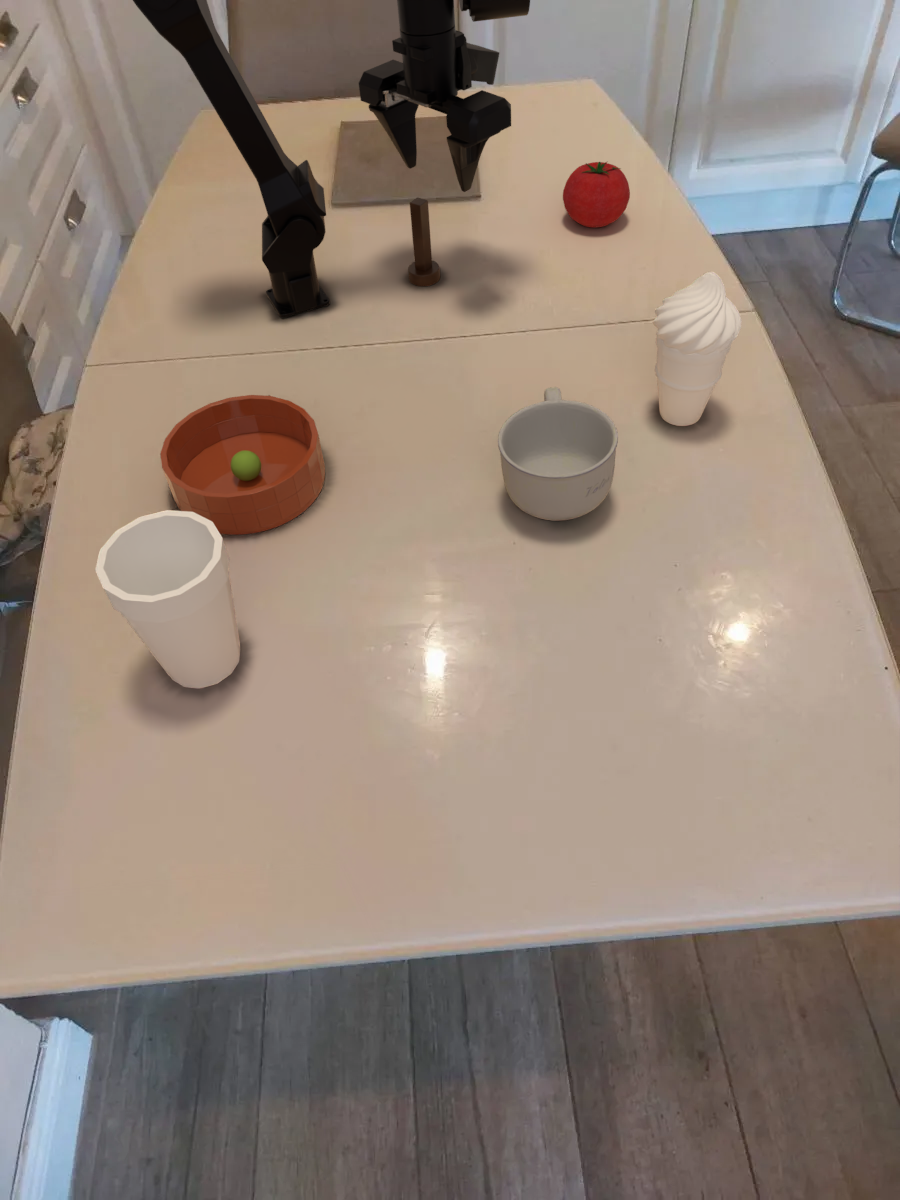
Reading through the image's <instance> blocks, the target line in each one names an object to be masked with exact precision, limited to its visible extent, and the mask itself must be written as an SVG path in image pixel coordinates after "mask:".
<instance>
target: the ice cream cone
mask: <svg viewBox="0 0 900 1200" xmlns="http://www.w3.org/2000/svg"><path fill="white" fill-rule="evenodd" d="M726 291H727V290H726V286H725V284H724V282H723V279H722V278H721V277H720V275H719V274H717V272H715V271H707V272H704V273H703V274H702V275H700V276H698V277H696V278H695V279H694V281H693V282H692V283H690V284H689V285H687V286H686V287H684V288H681V289H678V290H676V291H674V292H673V294H672V295H671V296H666V297H664V298H663V299H662V305H660V306H658V307H656V308H655V309H654V313H655V316H656V317H655V318H654V319H653V320H652V324H653V326H654V327H655V328H656V329H657V331H656V334H655V335H656V337H655V346H656V358H655V359H656V360H655V361H656V362H655V365H654V374H655V376H656V386H657V396H658V409H659V415H660V417H661V418H662V420H664V422H666V423H667V424H670V425H673V426H677V427H688V426H692V425H695V424H696V423H697V422H698V421H700V419H701V418H702V415H703V413H704V411H705V409H706V407H707V404H708V402H709V400H710V398H711V396H712V394H713V391H714V389H715V387H716V385H717V384H718V383H719V382H720V380H721V378H722V374H723V373H722V371H723V367H724V364H725V362H726V358H727V355H728V354H729V353H730V350H731V349H732V348H731V347H732V344H733V343H734V342H735V340H736V339H737V338H738V335H739V333H740V331H741V329H742V317H741V313H740V311H739V310H738V308H737V306H736V305H735V303H734V302H733V301H732V300H731V299H730V298H729V297H727V292H726Z"/></svg>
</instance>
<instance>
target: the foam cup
mask: <svg viewBox="0 0 900 1200" xmlns="http://www.w3.org/2000/svg"><path fill="white" fill-rule="evenodd" d="M230 560H231V559H230V556H229V553H228V550H227V547H226V545H225V541H224V538H223V536H222V534H221V533H219V531H218V530H217V528H216V527H215V525H214V523H213V522H212V521H210V520H208V519H206V518H204V517H202V516H200V515H198V514H196V513H194V512H188V511H180V510H170V509H166V510H162V511H158V512H154V513H149V514H145V515H141V516H138V517H136V518H135V519H133V520H132V521H130V522H128V523H127V524H124V525H123V526H122V527H120V528H118V529H116V530H115V531H114V532H113V533H112V535H111V536H110V537H109V538H108V539H107V541H106V542H105V543H104V544H103V545H102V547H101V548H100V549H99V552H98V557H97V560H96V564H95V569H94V571H95V574H96V575H97V578H98V580H99V582H100V585H101V587H102V588H103V591H104V592H105V595H106V596H107V599H108V600H109V602H110V604H111V606H112V608H113V610H115V611H117V612H118V613H120V615H121V616H122V617H123V618H124V619H125V621H126V622H127V623H128V625H129V626H130V627H131V629H132V630H133V631H134V633H135V634H136V635H137V637H138V638H139V639H140V641H141V642H142V643H143V644H144V645H145V647H146V648H147V650H148V651H149V652H150V653H151V655H152V656H153V658H155V660H156V661H157V662H158V664H159V665H160V666H161V668H162V669H163V670H164V672H165V673H166V674H167V675H168V677H170V678H171V680H172V681H173V682H175V683H176V684H178V685H180V686H181V687H184V688H189V689H205V688H207V687H211V686H214V685H217V684H219V683H221V682H222V681H223V680H225V679H226V678H228V677H229V676H230V675H232V674H233V672H234V670H235V669H236V667H237V666H238V665H239V663H240V658H241V641H240V634H239V628H238V621H237V616H236V615H237V614H236V609H235V602H234V601H235V600H234V595H233V589H232V583H231V582H232V581H231V574H230Z"/></svg>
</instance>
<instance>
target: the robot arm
mask: <svg viewBox="0 0 900 1200" xmlns="http://www.w3.org/2000/svg"><path fill="white" fill-rule="evenodd" d="M132 1H133V3H134V4H135V6H136V7H137V8H138V10H139V11H140V12H141V13H142V15H143V16H144V17H145V18H146V19H147V21H148V22H149V23H150V24H151V26H152V27H153V28H154V29H155V31H156V32H157V33H158V34H159V35H160V36H161V37H162V38H163V39H164V40H165V41H166V42H167V43H169V44H170V46H172V47H173V48H174V49H175V50H176V51H177V52H178V53H179V54H180V55H181V56H182V57H183V58H184V60H185V62H186V63H187V65H188V67H189V68H190V70H191V72H192V74H193V75H194V77H195V78H196V80H197V82H198V84H199V86H200V87H201V89H202V90H203V92H204V93H205V95H206V97H207V99H208V100H209V103H210V104H211V105H212V107H213V109H214V110H215V112H216V114H217V115H218V118H219V119H220V121H221V122H222V124H223V126H224V127H225V129H226V131H227V133H228V134H229V136H230V138H231V139H232V141H233V143H234V144H235V146H236V148H237V149H238V152H239V153H240V154H241V156H242V158H243V159H244V162H245V163H246V165H247V166H248V168H249V170H250V171H251V173H252V175H253V176H254V178H255V179H256V183H257V184H258V188H259V191H260V194H261V197H262V201H263V204H264V207H265V210H266V214H267V216H266V218H264V220H263V222H262V223H261V261H262V263H263V264H264V266H265V268H266V269H267V270H268V276H269V280H270V284H271V288H268V289H266V290H265V294H266V297H267V298H268V300H269V301H270V303H271V305H272V307H273V308H274V310H275V312H276V313H277V315H278V316H279V317H280V318H281V319H285V318H288V317H292V316H296V315H299V314H302V313H306V312H310V311H314V310H316V309H317V310H318V309H319V308H323V307H327V306H329V305H330V304H331V302H330V298H329V297H328V296H327V294H326V293H325V292H324V290H323V288H322V287H321V286H320V284H319V279H318V272H317V266H316V262H315V261H316V260H315V255H314V250H315V249H317V248H318V247H319V246H320V245H321V244H322V242H323V241H324V239H325V235H326V224H325V223H326V222H325V217H326V216H327V211H326V200H325V199H326V198H325V188H324V187H323V186H322V185H321V184H320V183H318V180H317V179H316V178H315V176H314V174H313V170H312V168H311V166H310V165H311V164H310V162H309V160H308V159H305V160H304V161H302V162H301V163H300V164H298V165H297V164H296V163H294V161H293V160H291V158H289V157H288V155H287V154H286V153H285V152H284V150H283V148H282V146H281V144H280V143H279V141H278V139H277V138H276V135H275V134H274V132H273V130H272V128H271V127H270V124H269V123H268V121H267V120H266V117H265V116H264V114H263V111H262V110H261V109H260V106H259V105H258V103H257V101H256V99H255V97H254V96H253V94H252V92H251V90H250V89H249V86H248V85H247V83H246V81H245V80H244V77H243V76H242V74H241V72H240V70H239V69H238V67H237V65H236V63H235V61H234V59H233V58H232V56H231V54H230V52H229V51H228V49H227V47H226V45H225V43H224V42H223V40H222V38H221V36H220V34H219V32H218V31H217V28H216V26H215V23H214V20H213V17H212V13H211V10H210V7H209V3H208V0H132ZM396 4H397V5H396V6H397V15H398V25H399V26H398V27H399V37H398V38H395V39H393V40H392V41H391V43H392V49H393V50H392V51H393V52H394V53H398V54H401V59H402V61H399V60H396V59H390V60H388V61H386V62H384V63H381V64H379V65H377V66H374V67H372V68H370V69H366V70H365V71H363V72H362V75H361V77H360V79H359V81H358V90H359V96H360V101H361V102H363V103H365V104H368V109H369V110H368V111H369V112H371V113H373V114H374V116H375V118H376V119H377V120H378V121H379V123H380V125H381V126H382V128H383V130H384V131H385V132H386V134H387V136H388V137H389V139H390V141H391V142H392V144H393V146H394V147H395V149H396V150H397V153H398V154H399V156H400V157H401V159H402V161H403V163H404V164H405V166H406V168H408V169H413V168H414V167H417V156H418V152H417V151H418V149H417V126H416V114H417V110H418V108H419V106H421V107H423V108H429V109H431V110H434V111H436V112H439V113H442V114H445V119H446V127H447V129H448V132H449V133H450V134H451V135H448V136H446V142H447V146H448V150H449V153H450V156H451V161H452V164H453V168H454V171H455V175H456V179H457V182H458V184H459V187H460V191H461V192H464V193H466V192H469V191H470V190H471V188H472V185H473V182H474V179H475V176H476V172H477V169H478V167H479V163H480V160H481V156H482V153H483V151H484V148H485V146H486V144H487V142H488V140H489V139H490V138H492V137H494V136H495V135H499V133H501V132H502V131H504V130H505V129H508V128H510V127H512V103H510V102H509V100H507V98H505V97H504V96H500V95H497V94H494V93H492V92H488V91H485V90H483V89H482V90H479V91H477V92H475V93H473V94H470V95H468V96H466V97H464V98H463V97H461V96H458V95H459V91H461V90H462V91H466V90H469V89H471V88H473V86H472V85H473V84H472V82H479V83H486V85H489V86H493V85H494V84H495V80H496V79H495V78H496V74H497V69H498V64H499V58H500V52H499V51H496V50H493V49H490V48H488V47H484V46H480V45H479V44H473V43H470V42H467V37H466V36H465V33H463V32H462V31H459V30H456V15H455V0H396ZM458 4H459V9H460V11H461V12H467V11H468V14H469V17H470V19H471V21H472V22H474V23H475V22H483V21H490V20H499V19H509V18H516V17H524V16H528V15H529V12H530V6H531V0H458Z"/></svg>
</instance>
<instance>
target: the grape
mask: <svg viewBox="0 0 900 1200" xmlns="http://www.w3.org/2000/svg"><path fill="white" fill-rule="evenodd" d="M231 470H232V473H233V474H234V475H235V476H236V477H237V478H238V479H240V480H243V481H250V480H253V479H255V478H256V477H257V476H258V475H259V473H260V471H261V461H260V459H259V457H258V456H257V455H256V454H255V453H253V452H251V451H240V452H238V453H236V454H235V455H234V456H233V458H232V460H231Z"/></svg>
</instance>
